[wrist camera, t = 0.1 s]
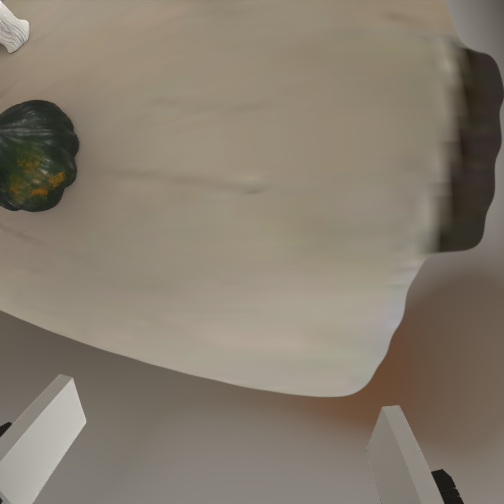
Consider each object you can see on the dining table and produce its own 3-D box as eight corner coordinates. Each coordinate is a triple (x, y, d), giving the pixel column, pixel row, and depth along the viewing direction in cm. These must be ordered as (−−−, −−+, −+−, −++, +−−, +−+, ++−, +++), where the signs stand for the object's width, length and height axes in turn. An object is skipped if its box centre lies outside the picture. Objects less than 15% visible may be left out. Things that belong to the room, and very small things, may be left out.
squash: (22, 248, 34) (-10, 200, 21) (-19, 176, 33) (-48, 115, 20) (98, 188, 42) (101, 124, 29) (51, 126, 40) (46, 58, 27)
